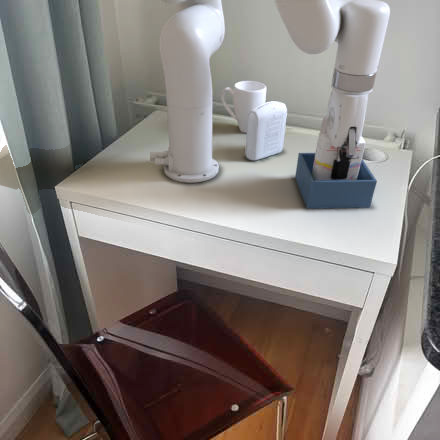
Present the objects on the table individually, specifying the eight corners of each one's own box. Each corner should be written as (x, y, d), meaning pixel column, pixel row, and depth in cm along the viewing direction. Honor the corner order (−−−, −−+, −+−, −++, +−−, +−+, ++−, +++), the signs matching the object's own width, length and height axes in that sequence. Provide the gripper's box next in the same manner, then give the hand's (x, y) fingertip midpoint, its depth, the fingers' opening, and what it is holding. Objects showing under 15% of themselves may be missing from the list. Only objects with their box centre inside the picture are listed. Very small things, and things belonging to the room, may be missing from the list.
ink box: (313, 195, 96) (326, 126, 86) (309, 184, 100) (320, 116, 90) (354, 195, 96) (370, 126, 86) (348, 184, 100) (363, 116, 90)
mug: (267, 127, 124) (271, 83, 117) (256, 138, 119) (259, 93, 111) (227, 119, 128) (228, 76, 120) (215, 130, 122) (215, 85, 115)
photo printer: (273, 146, 115) (278, 95, 107) (285, 152, 113) (291, 101, 105) (242, 156, 111) (245, 104, 102) (254, 163, 108) (257, 110, 100)
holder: (307, 208, 93) (311, 182, 89) (295, 178, 103) (298, 152, 99) (369, 207, 94) (377, 181, 90) (352, 177, 104) (357, 152, 100)
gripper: (322, 66, 89) (308, 154, 101) (345, 96, 76) (327, 192, 89) (359, 66, 90) (341, 154, 102) (389, 96, 77) (364, 191, 89)
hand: (335, 171), depth 95 cm, fingers closed on ink box, 5 cm apart
